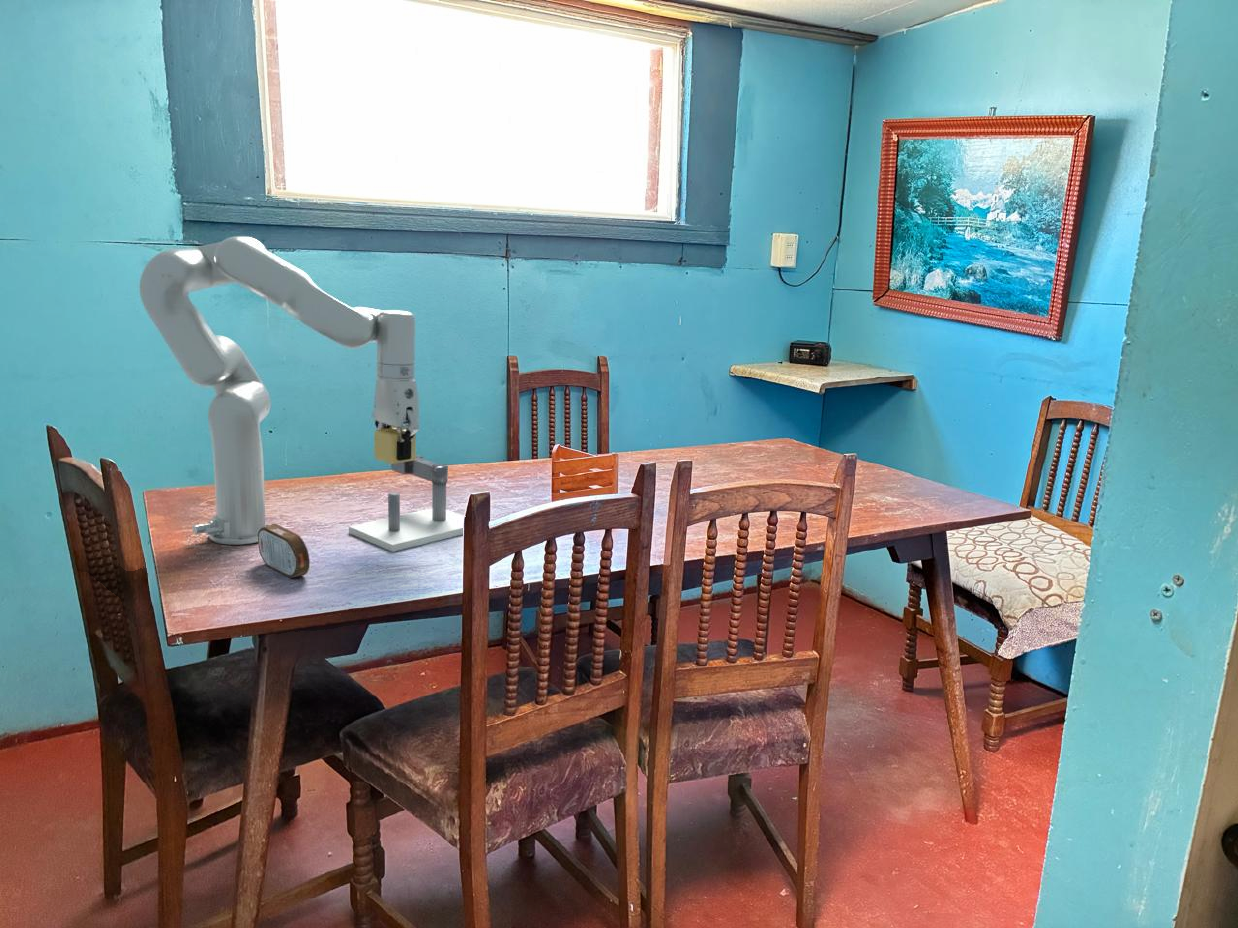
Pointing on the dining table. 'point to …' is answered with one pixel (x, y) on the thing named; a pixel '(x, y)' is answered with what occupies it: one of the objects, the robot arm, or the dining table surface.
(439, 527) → the pin board
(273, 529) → the tin
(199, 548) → the dining table surface
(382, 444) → the collar
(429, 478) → the bar
